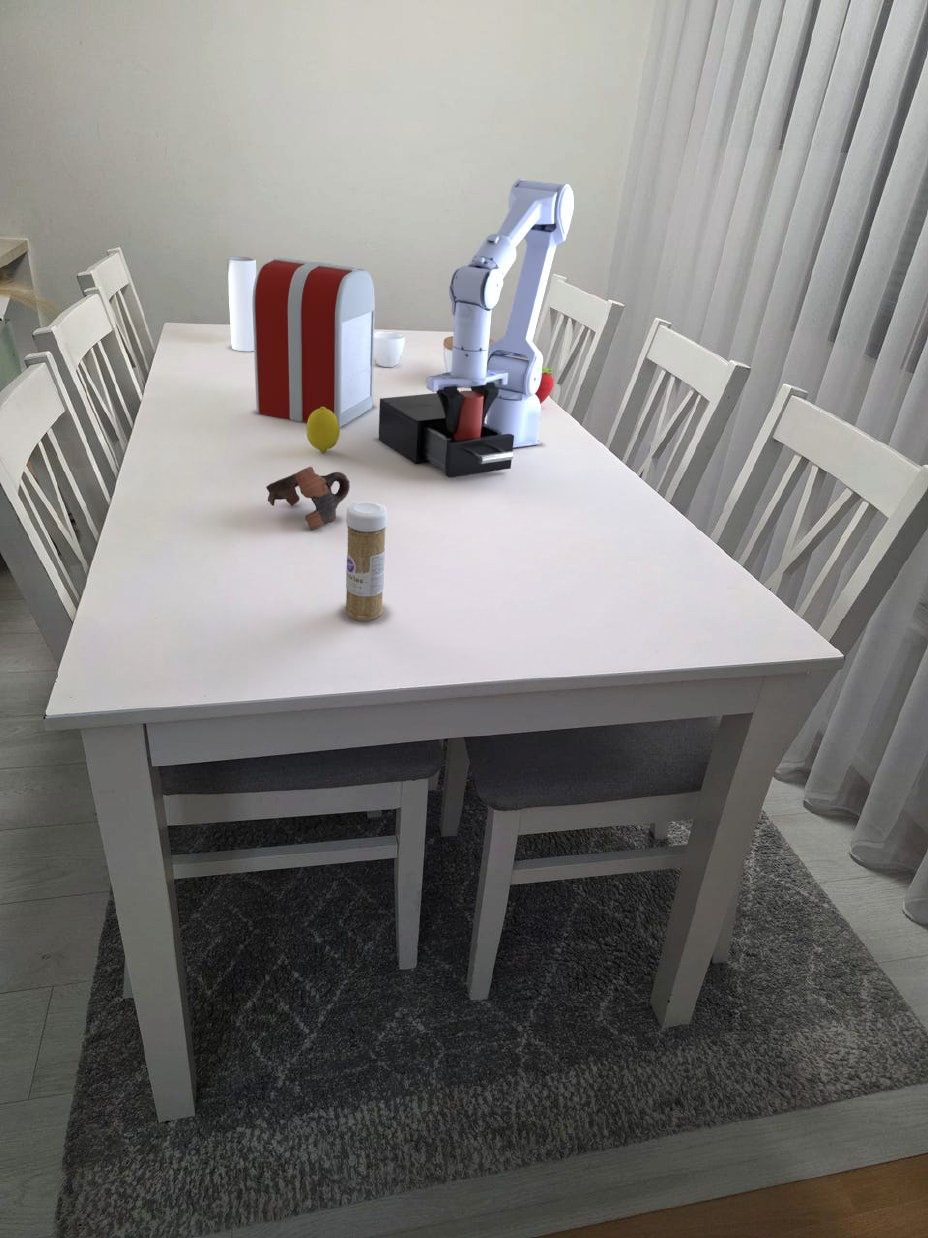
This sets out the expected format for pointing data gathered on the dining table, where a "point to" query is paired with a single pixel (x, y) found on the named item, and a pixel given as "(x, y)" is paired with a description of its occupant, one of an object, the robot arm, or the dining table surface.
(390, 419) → the warmer
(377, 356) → the cup
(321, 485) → the broken mug
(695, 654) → the dining table surface
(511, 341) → the robot arm
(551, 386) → the strawberry
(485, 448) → the tray drawer
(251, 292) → the vase
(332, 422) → the lemon
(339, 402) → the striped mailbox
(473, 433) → the spice tin
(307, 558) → the dining table surface
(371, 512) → the sprinkles bottle
